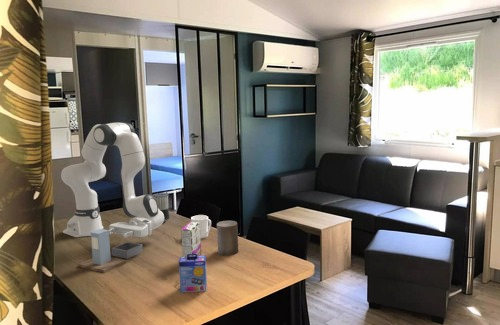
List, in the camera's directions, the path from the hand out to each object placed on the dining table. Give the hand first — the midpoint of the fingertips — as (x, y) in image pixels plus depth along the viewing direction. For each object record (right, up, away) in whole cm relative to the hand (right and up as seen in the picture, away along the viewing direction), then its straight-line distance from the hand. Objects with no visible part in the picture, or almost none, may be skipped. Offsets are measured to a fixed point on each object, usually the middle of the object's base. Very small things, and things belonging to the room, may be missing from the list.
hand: (115, 234), depth 185 cm
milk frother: (+7, -3, +62) cm, 62 cm away
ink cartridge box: (+40, -15, -32) cm, 53 cm away
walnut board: (-4, -12, -6) cm, 14 cm away
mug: (+36, -6, +29) cm, 46 cm away
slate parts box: (-4, -11, -6) cm, 13 cm away
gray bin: (+3, -10, +7) cm, 13 cm away
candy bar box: (+36, -11, -5) cm, 38 cm away
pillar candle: (+51, -9, +6) cm, 52 cm away
